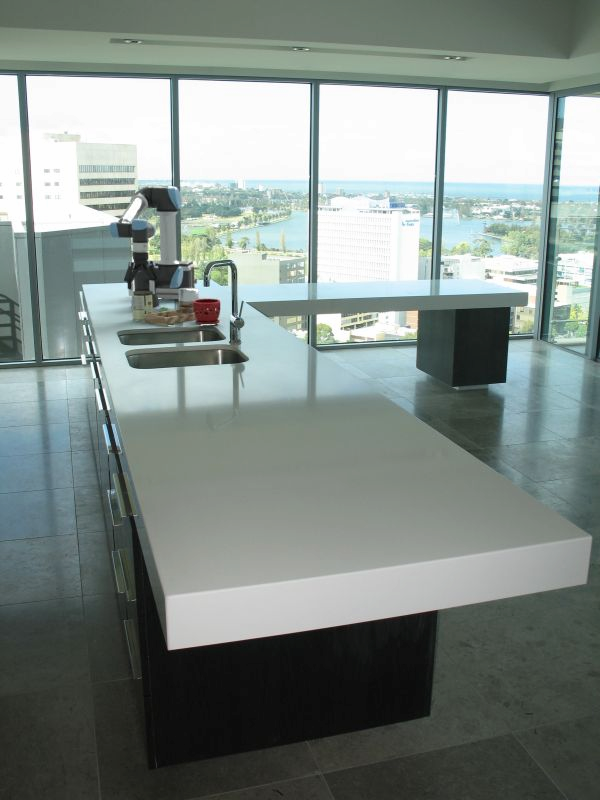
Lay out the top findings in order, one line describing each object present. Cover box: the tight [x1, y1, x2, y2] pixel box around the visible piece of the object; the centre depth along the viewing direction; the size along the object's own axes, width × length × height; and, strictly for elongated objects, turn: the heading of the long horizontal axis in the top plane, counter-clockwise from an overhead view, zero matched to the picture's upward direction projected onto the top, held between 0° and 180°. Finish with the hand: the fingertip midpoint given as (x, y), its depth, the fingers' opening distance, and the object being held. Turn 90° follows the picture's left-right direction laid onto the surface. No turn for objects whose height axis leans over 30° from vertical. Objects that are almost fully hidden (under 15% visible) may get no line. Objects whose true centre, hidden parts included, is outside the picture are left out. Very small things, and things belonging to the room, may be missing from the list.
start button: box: [160, 306, 170, 312], centre depth 427 cm, size 4×4×4 cm
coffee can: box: [131, 290, 154, 323], centre depth 416 cm, size 10×10×14 cm
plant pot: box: [193, 298, 221, 325], centre depth 405 cm, size 13×13×12 cm
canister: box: [177, 287, 199, 314], centre depth 421 cm, size 10×10×14 cm
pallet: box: [144, 308, 197, 327], centre depth 417 cm, size 30×16×4 cm, turn 142°
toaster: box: [148, 259, 200, 300], centre depth 495 cm, size 18×34×21 cm, turn 87°
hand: (141, 294), depth 414 cm, fingers open, 13 cm apart
